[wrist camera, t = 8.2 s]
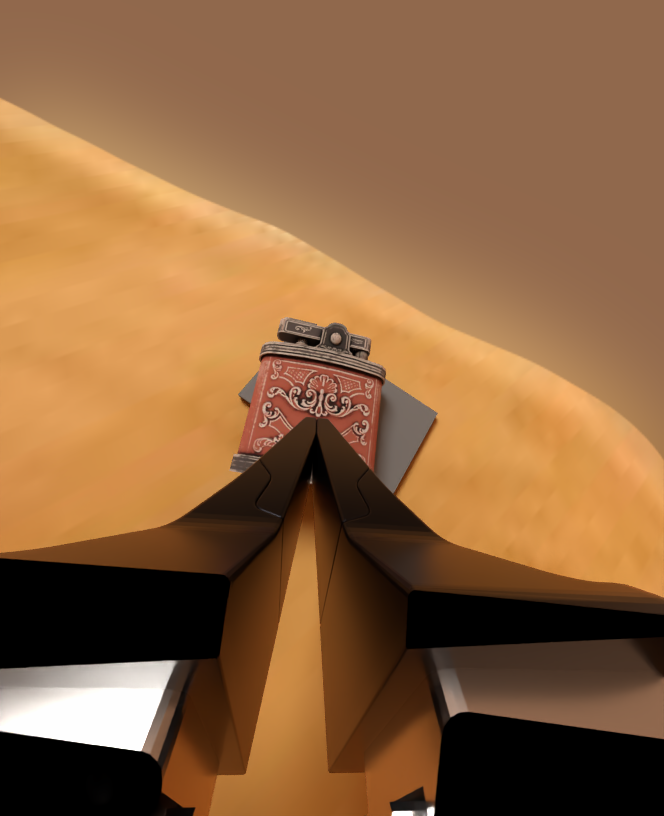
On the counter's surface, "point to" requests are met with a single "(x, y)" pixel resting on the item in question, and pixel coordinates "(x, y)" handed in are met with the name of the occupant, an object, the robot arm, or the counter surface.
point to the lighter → (313, 389)
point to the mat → (390, 430)
